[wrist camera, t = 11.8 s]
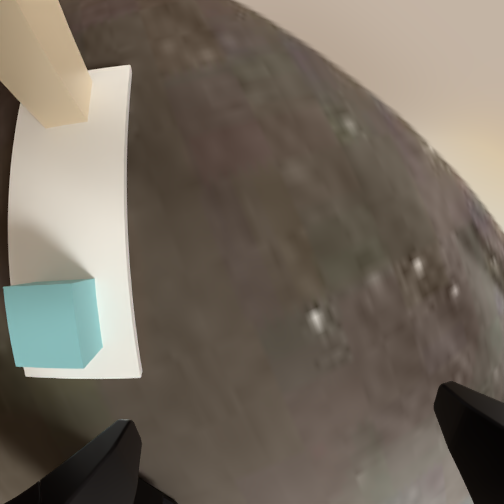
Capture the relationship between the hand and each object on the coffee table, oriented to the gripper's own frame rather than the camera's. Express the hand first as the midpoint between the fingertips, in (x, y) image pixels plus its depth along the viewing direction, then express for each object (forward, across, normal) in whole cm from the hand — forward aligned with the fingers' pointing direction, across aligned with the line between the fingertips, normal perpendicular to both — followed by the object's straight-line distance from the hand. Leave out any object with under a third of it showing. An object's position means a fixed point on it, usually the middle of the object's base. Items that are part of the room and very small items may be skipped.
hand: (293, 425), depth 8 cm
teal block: (+9, +12, 0) cm, 15 cm away
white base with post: (+11, +12, -5) cm, 17 cm away
